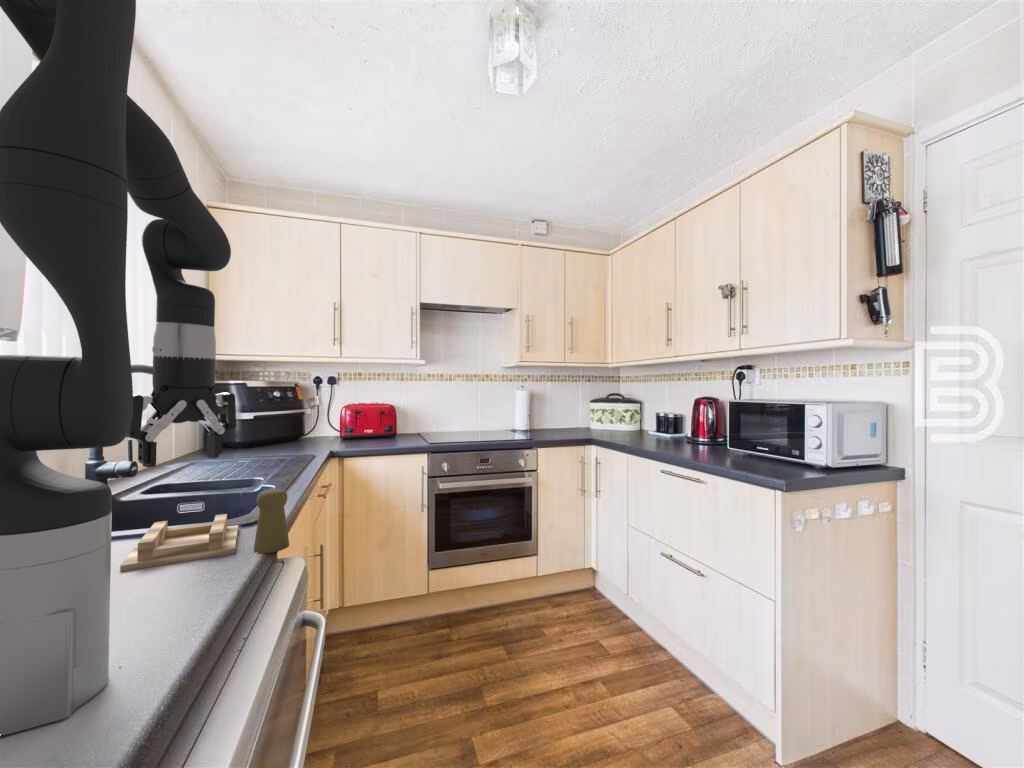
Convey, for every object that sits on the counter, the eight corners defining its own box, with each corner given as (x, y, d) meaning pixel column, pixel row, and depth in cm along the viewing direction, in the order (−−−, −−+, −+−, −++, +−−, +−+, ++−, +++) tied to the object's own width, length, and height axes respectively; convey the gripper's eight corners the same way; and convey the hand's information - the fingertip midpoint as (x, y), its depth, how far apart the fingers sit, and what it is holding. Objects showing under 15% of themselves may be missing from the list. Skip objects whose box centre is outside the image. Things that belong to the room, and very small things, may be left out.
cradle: (234, 553, 80) (234, 531, 80) (120, 571, 71) (120, 547, 72) (238, 529, 93) (238, 511, 93) (142, 542, 85) (143, 522, 85)
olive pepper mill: (259, 543, 85) (260, 487, 85) (292, 540, 86) (293, 485, 86) (248, 554, 79) (249, 494, 79) (284, 551, 80) (285, 492, 81)
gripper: (141, 352, 57) (138, 474, 57) (247, 358, 70) (245, 457, 70) (113, 351, 60) (110, 467, 61) (219, 357, 73) (217, 452, 73)
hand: (182, 461), depth 65 cm, fingers open, 8 cm apart
